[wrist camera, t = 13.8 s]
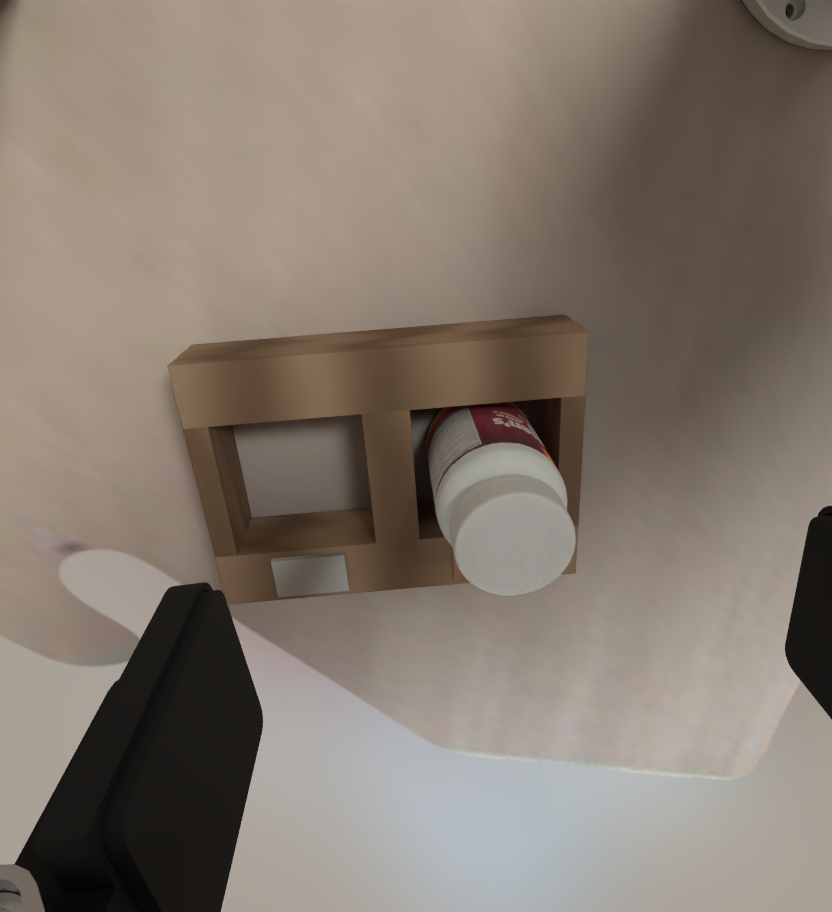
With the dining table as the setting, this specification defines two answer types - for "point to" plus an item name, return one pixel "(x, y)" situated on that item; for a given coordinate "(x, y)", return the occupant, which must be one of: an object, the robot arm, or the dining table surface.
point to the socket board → (366, 442)
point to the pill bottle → (499, 498)
